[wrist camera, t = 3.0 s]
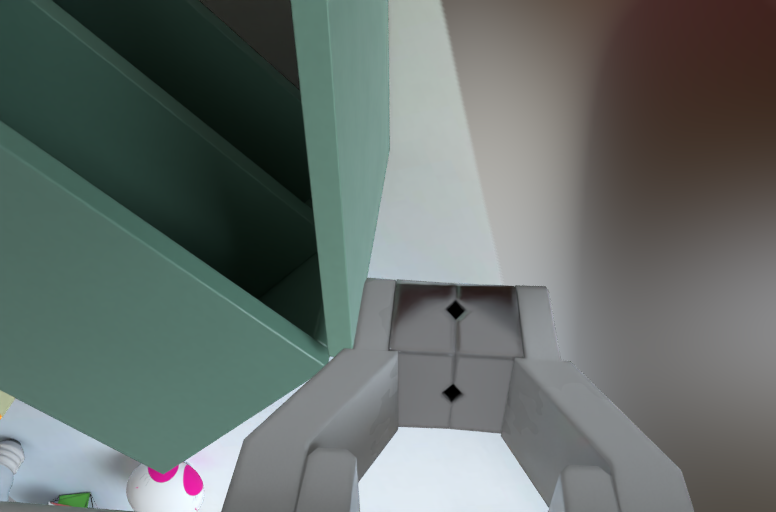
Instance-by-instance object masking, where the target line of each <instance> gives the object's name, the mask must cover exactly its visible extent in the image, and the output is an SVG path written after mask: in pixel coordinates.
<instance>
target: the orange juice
mask: <svg viewBox="0 0 776 512" xmlns="http://www.w3.org/2000/svg"><path fill="white" fill-rule="evenodd" d="M14 400H15V398H14V397H12V396H10V395H9V394H7V393H5V392H3V391H1V390H0V419H1V417H3V416H4V414H5V413H6V411H7V410H8V409H9V407H10V406H11V404H12V403H13V401H14Z"/></svg>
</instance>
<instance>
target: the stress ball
mask: <svg viewBox="0 0 776 512" xmlns="http://www.w3.org/2000/svg"><path fill="white" fill-rule="evenodd" d="M126 493H127V498H128V501H129V503H130V505H131V507H132V508H133V509H134V511H135V512H197V511H198V510H199V508H200V507H201V505H202V502H203V500H204V485H203V482H202V479H201V477H200V476H199V474H198V473H197V472H196V471H195V470H194V469H193V468H192V467H191V466H189V465H188V464H186V463H184V462H182V463H180V464H179V465H177V466H176V467H174V468H173V469H171V470H170V471H168V472H167V473H165V474H161V473H159V472H158V471H156V470H154V469H152V468H150V467H148V466H146V465H144V464H141V465H140V466H138V467H137V468H136V469H135V470H134V471H133V472H132V474H131V475H130V477H129V479H128V482H127V487H126Z"/></svg>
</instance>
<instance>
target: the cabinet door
mask: <svg viewBox="0 0 776 512" xmlns="http://www.w3.org/2000/svg"><path fill="white" fill-rule="evenodd" d="M290 2H291V11H292V21H293V30H294V39H295V48H296V58H297V67H298V76H299V86H300V95H301V104H302V113H303V123H304V132H305V141H306V151H307V160H308V169H309V179H310V188H311V197H312V206H313V216H314V225H315V234H316V244H317V253H318V262H319V271H320V281H321V290H322V299H323V309H324V318H325V327H326V336H327V346H328V355H329V356H331V357H335V356H336V355H337V354H338V353H339V352H341V351H342V350H343V349H344V348H348V349H353V345H354V339H355V333H356V327H357V322H358V316H359V310H360V304H361V298H362V293H363V287H364V283H365V281H366V279H367V275H368V270H369V264H370V258H371V253H372V247H373V241H374V236H375V230H376V224H377V219H378V213H379V207H380V202H381V196H382V190H383V185H384V179H385V173H386V168H387V162H388V156H389V151H390V136H389V44H388V0H290Z"/></svg>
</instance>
